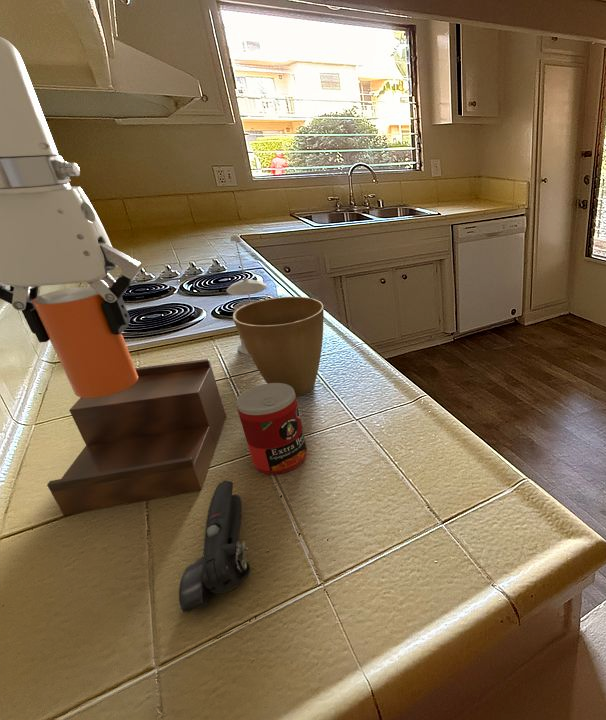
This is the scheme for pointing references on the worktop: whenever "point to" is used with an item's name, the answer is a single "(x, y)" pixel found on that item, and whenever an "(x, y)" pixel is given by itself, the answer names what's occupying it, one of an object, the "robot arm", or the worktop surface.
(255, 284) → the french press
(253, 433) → the canned food
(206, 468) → the step shelf
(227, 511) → the can opener
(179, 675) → the worktop surface
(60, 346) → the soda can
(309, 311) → the plant pot
